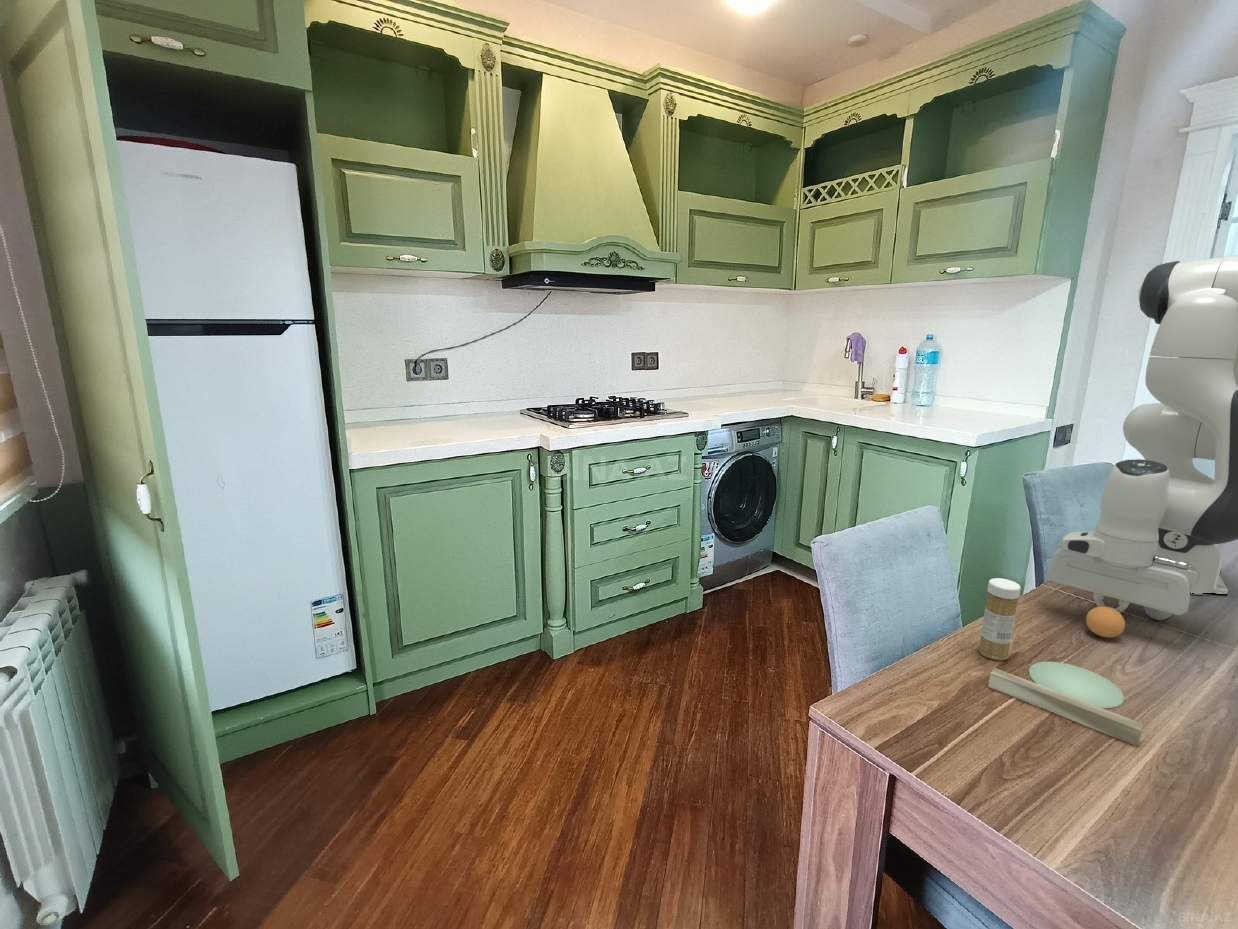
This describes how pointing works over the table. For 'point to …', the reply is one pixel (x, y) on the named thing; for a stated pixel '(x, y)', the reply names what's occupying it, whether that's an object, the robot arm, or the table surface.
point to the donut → (1157, 614)
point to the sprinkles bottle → (999, 618)
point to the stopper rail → (1067, 706)
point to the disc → (1077, 683)
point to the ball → (1105, 622)
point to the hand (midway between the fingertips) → (1107, 617)
